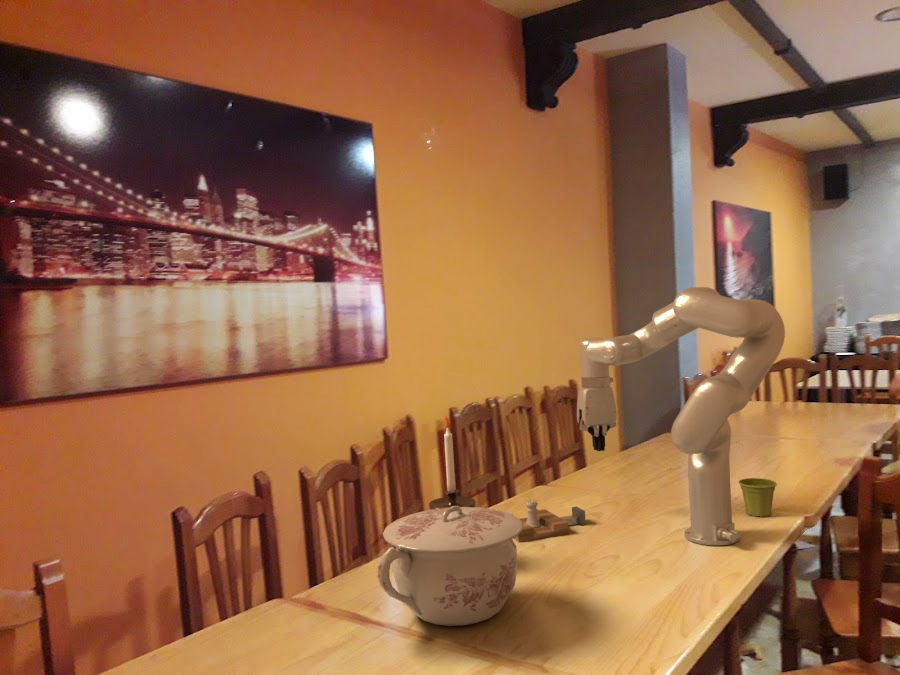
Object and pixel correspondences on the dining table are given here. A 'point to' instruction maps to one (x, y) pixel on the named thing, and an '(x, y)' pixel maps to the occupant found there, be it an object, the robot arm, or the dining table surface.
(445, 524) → the chamber pot
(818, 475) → the dining table surface
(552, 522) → the mount
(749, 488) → the plant pot
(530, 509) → the rook chess piece
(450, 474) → the candlestick
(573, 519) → the lock pin
